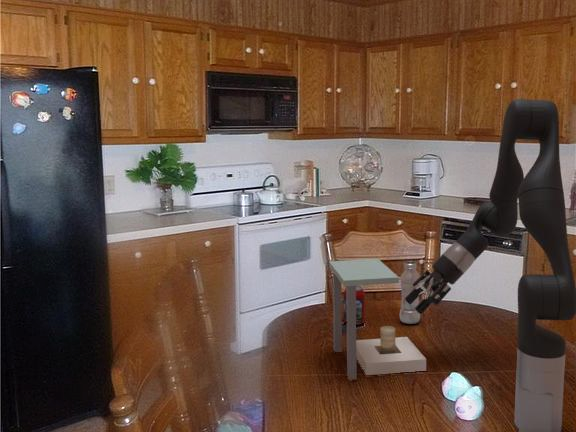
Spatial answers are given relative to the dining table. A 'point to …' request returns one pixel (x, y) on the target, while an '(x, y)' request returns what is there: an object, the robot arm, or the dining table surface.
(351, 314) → the two-legged shelf table
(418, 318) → the plastic bottle
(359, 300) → the beverage can
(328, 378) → the dining table surface
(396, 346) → the socket
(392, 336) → the peg
